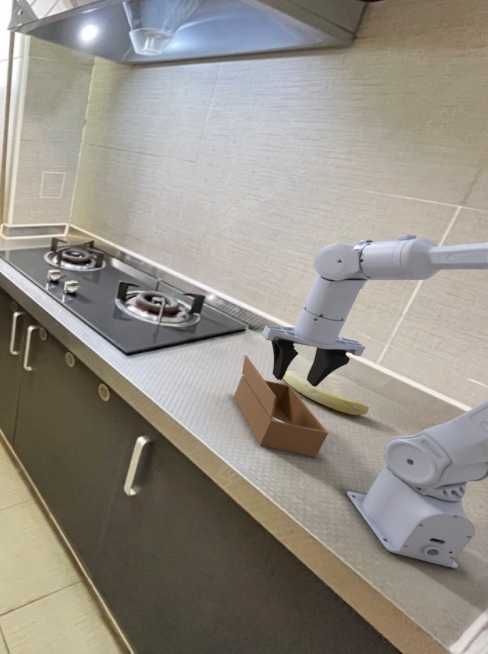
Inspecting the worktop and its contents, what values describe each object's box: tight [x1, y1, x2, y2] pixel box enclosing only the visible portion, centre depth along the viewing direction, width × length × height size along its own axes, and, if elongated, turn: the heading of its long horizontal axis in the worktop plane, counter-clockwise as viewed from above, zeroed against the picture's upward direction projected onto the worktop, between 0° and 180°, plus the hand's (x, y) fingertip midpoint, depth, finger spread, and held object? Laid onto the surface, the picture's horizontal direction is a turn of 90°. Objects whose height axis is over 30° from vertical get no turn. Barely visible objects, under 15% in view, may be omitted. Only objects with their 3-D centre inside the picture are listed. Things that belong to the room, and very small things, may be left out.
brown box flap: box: [241, 354, 277, 418], centre depth 72 cm, size 14×4×1 cm
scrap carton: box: [233, 375, 329, 458], centre depth 73 cm, size 14×9×5 cm, turn 167°
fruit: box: [282, 369, 370, 416], centre depth 84 cm, size 7×15×3 cm, turn 22°
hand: (293, 380), depth 71 cm, fingers open, 5 cm apart
